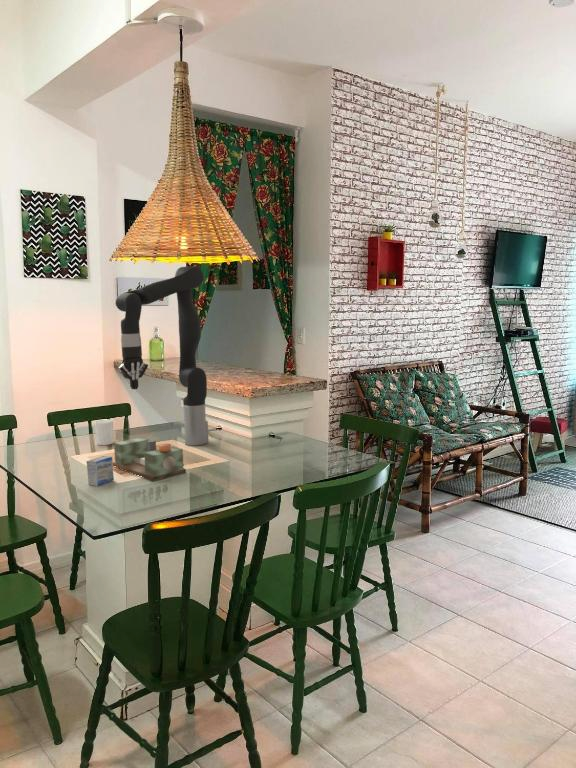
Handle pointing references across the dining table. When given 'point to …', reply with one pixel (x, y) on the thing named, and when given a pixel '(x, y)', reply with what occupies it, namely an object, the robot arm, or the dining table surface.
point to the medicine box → (100, 470)
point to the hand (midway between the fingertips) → (134, 389)
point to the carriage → (149, 449)
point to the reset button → (164, 447)
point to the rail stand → (148, 460)
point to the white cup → (104, 431)
